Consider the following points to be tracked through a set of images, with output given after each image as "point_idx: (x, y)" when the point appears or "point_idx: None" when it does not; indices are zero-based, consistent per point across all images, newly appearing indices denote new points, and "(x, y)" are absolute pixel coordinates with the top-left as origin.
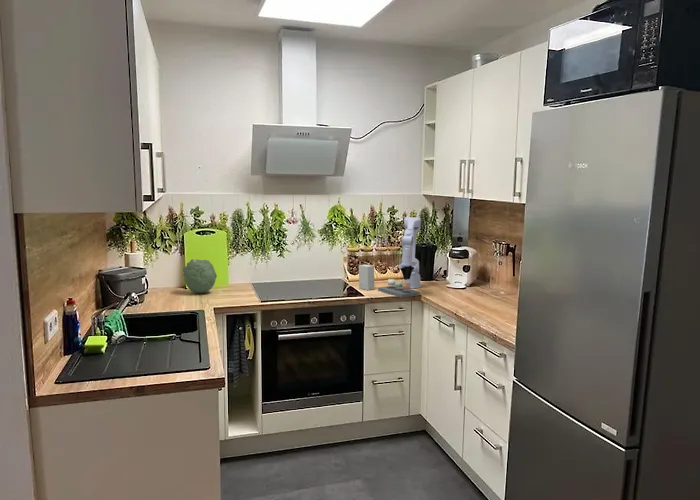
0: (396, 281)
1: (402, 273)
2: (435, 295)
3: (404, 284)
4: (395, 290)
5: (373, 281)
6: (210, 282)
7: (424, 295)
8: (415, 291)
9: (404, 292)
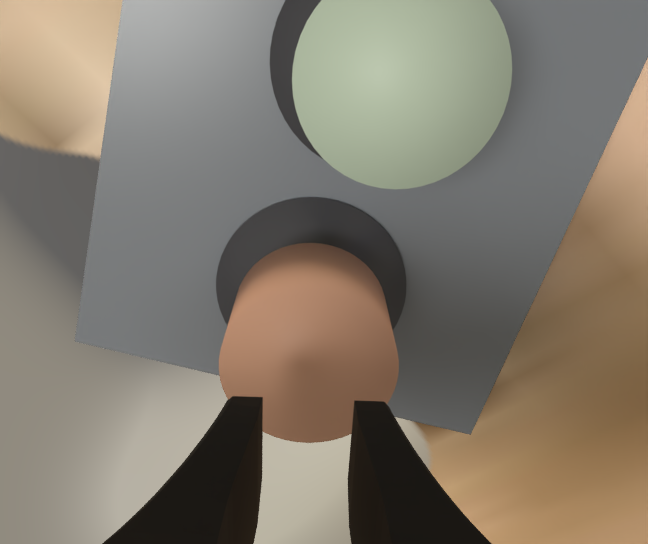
0: (380, 1)
1: (145, 507)
2: (572, 536)
3: (221, 364)
4: (256, 63)
5: None
6: None
7: (481, 449)
8: (441, 378)
9: (220, 306)
